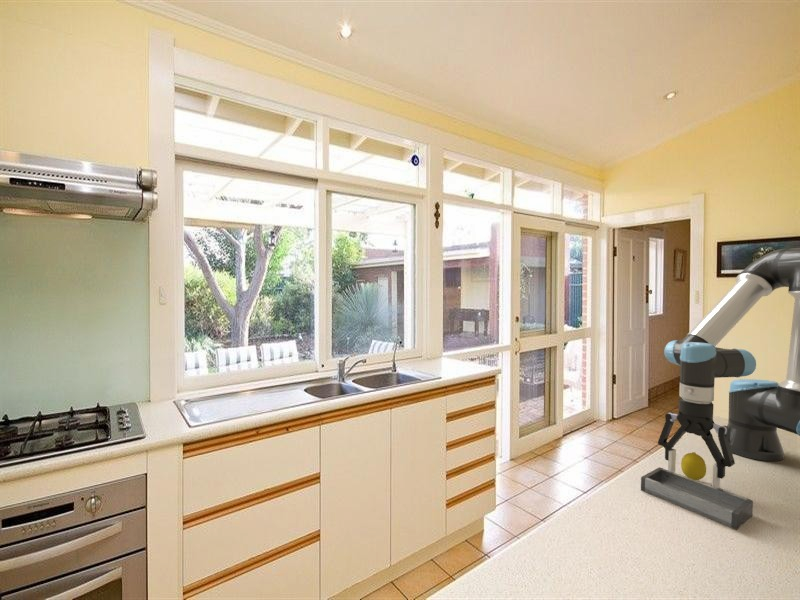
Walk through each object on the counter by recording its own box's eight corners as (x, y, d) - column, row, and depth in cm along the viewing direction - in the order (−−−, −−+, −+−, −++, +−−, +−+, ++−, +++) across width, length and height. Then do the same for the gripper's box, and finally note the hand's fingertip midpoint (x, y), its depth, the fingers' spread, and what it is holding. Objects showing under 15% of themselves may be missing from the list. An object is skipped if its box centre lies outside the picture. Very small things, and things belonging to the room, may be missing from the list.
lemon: (683, 483, 107) (684, 454, 107) (678, 474, 112) (679, 446, 112) (708, 487, 105) (709, 458, 105) (701, 478, 110) (702, 450, 110)
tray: (658, 479, 109) (659, 467, 109) (752, 515, 93) (753, 500, 92) (640, 490, 104) (641, 477, 104) (736, 530, 87) (737, 514, 87)
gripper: (645, 392, 115) (642, 467, 116) (743, 413, 96) (739, 503, 97) (657, 388, 119) (655, 461, 120) (754, 408, 100) (750, 494, 101)
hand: (692, 480), depth 109 cm, fingers open, 10 cm apart
